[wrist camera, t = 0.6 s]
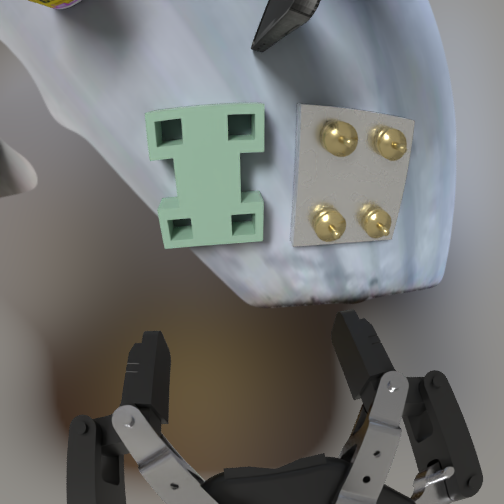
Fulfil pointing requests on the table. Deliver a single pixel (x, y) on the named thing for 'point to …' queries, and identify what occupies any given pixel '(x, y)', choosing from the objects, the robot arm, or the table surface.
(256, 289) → the table surface
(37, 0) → the supplement bottle
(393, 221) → the chassis
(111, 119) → the table surface
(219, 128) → the board
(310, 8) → the phone
